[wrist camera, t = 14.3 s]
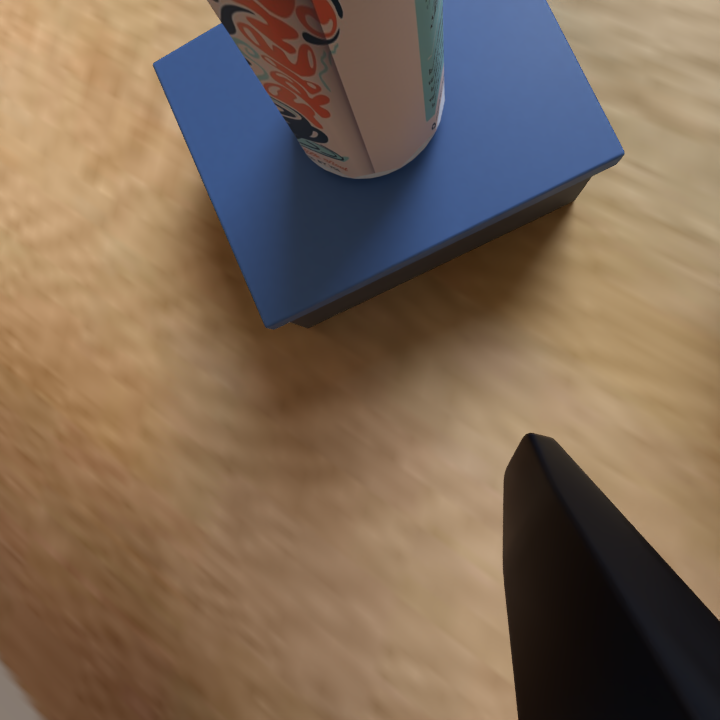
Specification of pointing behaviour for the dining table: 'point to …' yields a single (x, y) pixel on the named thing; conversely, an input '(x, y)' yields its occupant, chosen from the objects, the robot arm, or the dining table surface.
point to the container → (401, 187)
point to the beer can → (347, 75)
